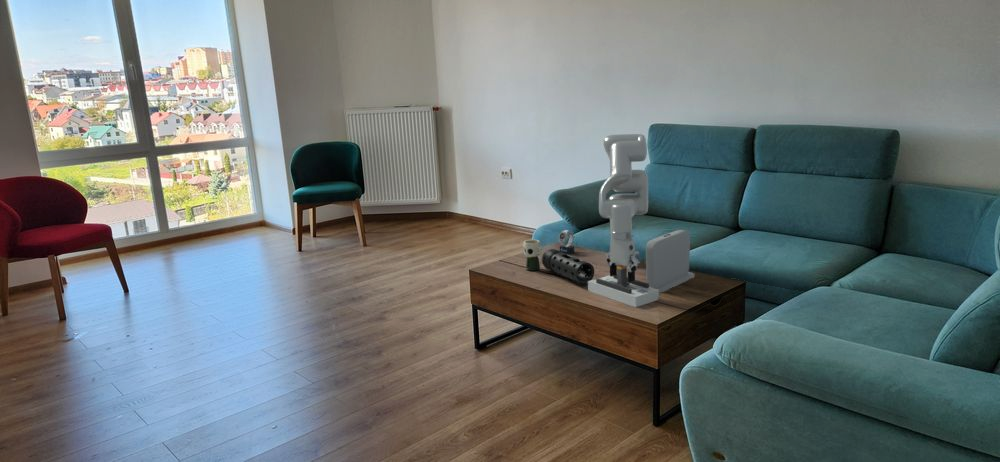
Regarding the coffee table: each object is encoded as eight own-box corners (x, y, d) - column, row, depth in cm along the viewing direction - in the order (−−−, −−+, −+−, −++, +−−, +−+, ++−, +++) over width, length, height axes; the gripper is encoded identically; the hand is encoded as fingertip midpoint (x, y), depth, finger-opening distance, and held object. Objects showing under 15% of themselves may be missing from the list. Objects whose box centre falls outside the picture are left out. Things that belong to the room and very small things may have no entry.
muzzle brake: (576, 288, 268) (575, 264, 265) (540, 272, 292) (539, 249, 289) (595, 284, 272) (594, 260, 269) (558, 268, 296) (558, 246, 294)
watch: (557, 253, 321) (556, 231, 318) (568, 250, 325) (568, 228, 323) (565, 255, 316) (564, 233, 314) (577, 251, 321) (576, 229, 319)
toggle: (622, 282, 258) (622, 263, 256) (629, 284, 255) (629, 265, 253) (614, 284, 256) (614, 265, 254) (622, 286, 253) (621, 267, 251)
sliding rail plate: (615, 277, 266) (615, 273, 265) (649, 287, 251) (649, 283, 251) (596, 283, 260) (596, 279, 260) (629, 293, 245) (629, 289, 245)
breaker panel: (610, 284, 270) (610, 274, 269) (658, 299, 249) (658, 289, 248) (588, 290, 264) (587, 280, 263) (635, 307, 243) (635, 296, 242)
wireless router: (677, 271, 283) (678, 225, 278) (699, 275, 276) (699, 228, 271) (636, 289, 262) (635, 240, 257) (658, 294, 255) (658, 244, 250)
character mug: (518, 269, 298) (517, 241, 295) (530, 265, 303) (528, 238, 300) (536, 273, 290) (534, 244, 287) (547, 269, 295) (546, 241, 292)
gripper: (645, 237, 246) (645, 281, 250) (613, 230, 260) (613, 271, 264) (631, 241, 242) (631, 285, 246) (598, 233, 256) (599, 275, 260)
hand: (622, 278), depth 255 cm, fingers open, 9 cm apart
